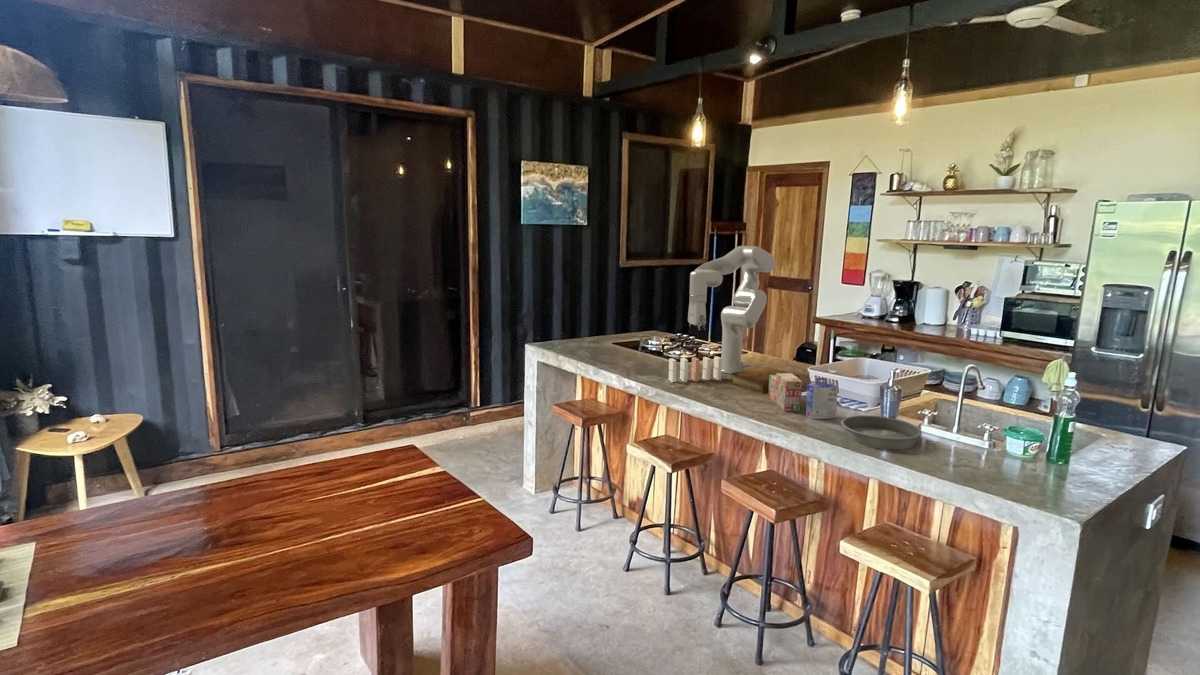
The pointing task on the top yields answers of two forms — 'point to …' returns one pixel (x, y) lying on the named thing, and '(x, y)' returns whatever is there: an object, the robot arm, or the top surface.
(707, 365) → the domino
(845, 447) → the top surface
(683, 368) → the domino
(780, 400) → the stack of blocks
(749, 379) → the diary
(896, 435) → the cake pan
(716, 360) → the end domino
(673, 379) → the head domino
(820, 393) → the ink cartridge box
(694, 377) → the terracotta domino
